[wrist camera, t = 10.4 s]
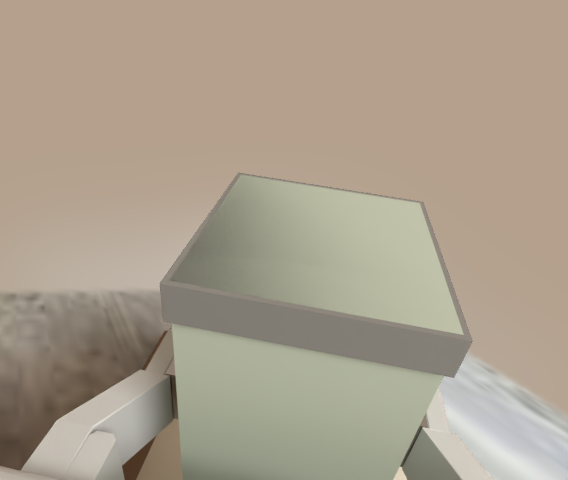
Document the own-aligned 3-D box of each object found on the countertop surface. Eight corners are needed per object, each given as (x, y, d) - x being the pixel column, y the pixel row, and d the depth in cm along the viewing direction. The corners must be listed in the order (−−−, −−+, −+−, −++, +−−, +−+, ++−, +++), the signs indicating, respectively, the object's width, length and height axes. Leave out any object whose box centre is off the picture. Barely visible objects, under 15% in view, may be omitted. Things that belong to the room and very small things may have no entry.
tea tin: (184, 567, 12) (159, 283, 6) (227, 425, 16) (238, 172, 10) (338, 604, 11) (472, 340, 6) (342, 449, 15) (423, 201, 10)
